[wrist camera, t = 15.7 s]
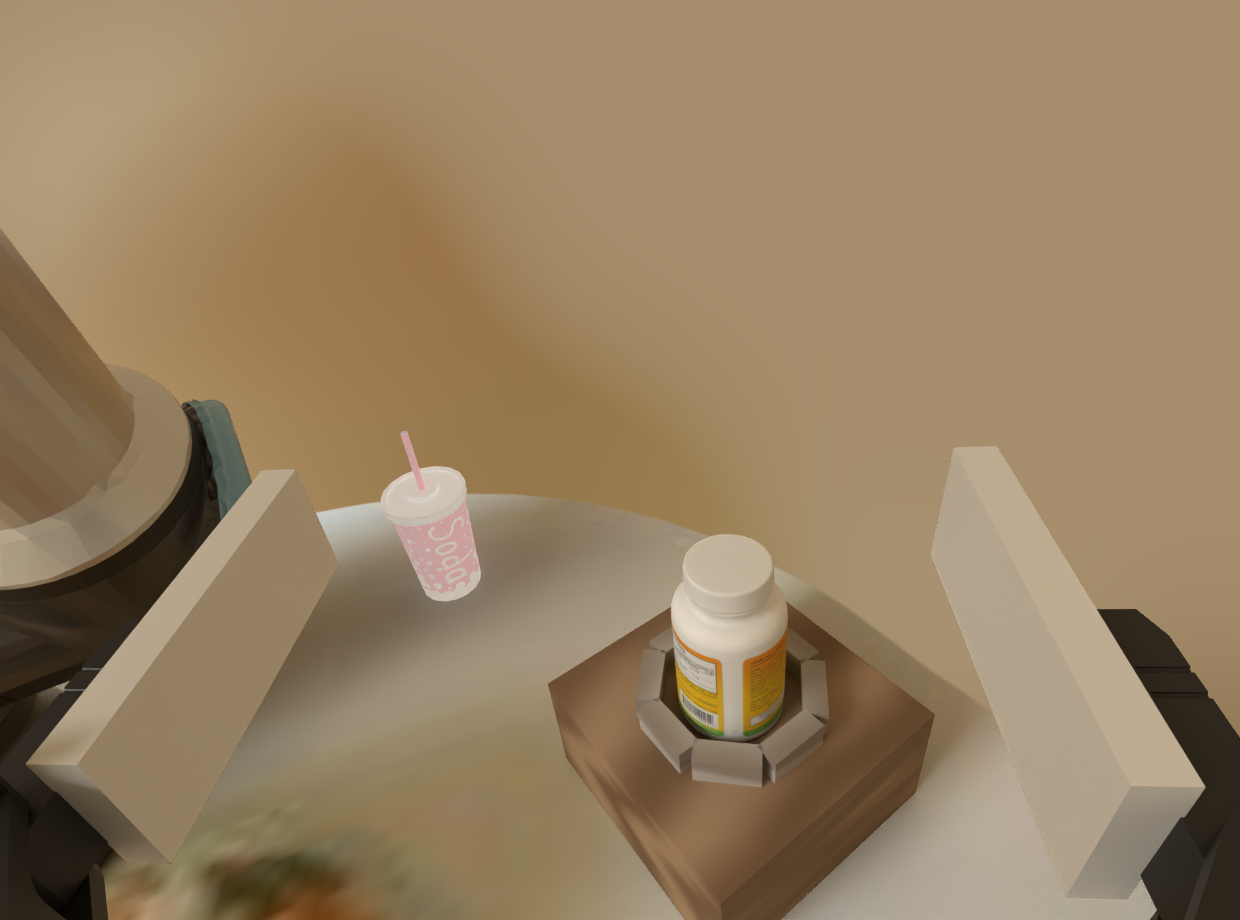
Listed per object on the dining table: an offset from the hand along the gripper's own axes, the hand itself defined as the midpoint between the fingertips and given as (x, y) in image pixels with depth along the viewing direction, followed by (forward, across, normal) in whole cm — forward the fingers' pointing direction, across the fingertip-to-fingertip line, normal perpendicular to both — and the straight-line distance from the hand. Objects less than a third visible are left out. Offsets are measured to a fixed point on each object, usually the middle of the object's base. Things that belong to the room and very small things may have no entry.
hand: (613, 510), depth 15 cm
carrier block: (+12, +3, -30) cm, 32 cm away
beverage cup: (+28, -18, -30) cm, 45 cm away
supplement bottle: (+12, +3, -23) cm, 26 cm away
